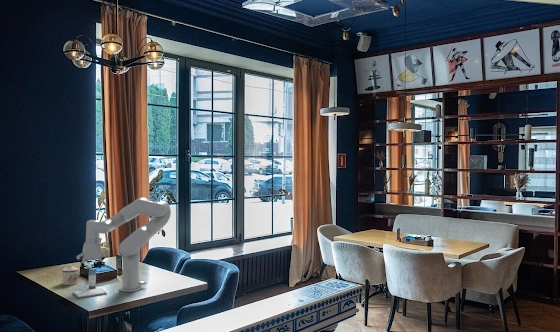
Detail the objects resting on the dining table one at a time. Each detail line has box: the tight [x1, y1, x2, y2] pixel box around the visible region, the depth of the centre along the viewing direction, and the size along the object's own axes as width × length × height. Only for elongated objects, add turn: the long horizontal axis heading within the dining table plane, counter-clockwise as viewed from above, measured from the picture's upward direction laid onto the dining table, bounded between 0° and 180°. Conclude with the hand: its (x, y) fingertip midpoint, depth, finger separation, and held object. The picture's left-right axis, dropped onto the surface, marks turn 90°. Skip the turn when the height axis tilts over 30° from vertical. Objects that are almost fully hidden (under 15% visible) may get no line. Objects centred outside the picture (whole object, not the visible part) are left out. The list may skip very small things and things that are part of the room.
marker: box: [88, 267, 97, 290], centre depth 282 cm, size 4×4×12 cm
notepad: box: [72, 287, 108, 300], centre depth 272 cm, size 16×12×1 cm
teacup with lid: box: [61, 264, 81, 286], centre depth 294 cm, size 12×9×12 cm
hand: (91, 268), depth 282 cm, fingers open, 9 cm apart
